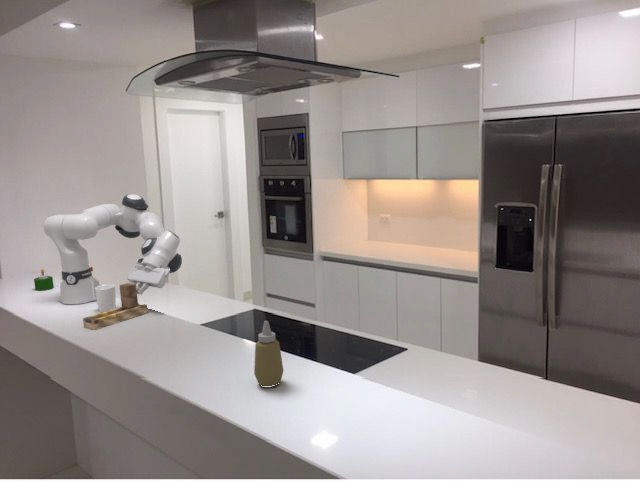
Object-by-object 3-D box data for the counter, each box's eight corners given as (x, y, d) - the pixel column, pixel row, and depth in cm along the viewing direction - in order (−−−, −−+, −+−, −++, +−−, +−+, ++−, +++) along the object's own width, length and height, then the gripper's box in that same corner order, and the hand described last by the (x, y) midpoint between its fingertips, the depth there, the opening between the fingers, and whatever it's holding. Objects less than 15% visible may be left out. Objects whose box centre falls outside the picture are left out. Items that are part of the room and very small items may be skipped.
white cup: (104, 313, 224) (101, 290, 222) (93, 310, 229) (91, 287, 227) (121, 308, 230) (118, 285, 229) (110, 306, 235) (108, 283, 233)
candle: (38, 287, 274) (35, 268, 273) (55, 286, 276) (53, 266, 274) (32, 291, 266) (30, 271, 264) (51, 290, 268) (48, 270, 266)
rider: (131, 307, 223) (129, 282, 221) (138, 309, 220) (136, 283, 219) (122, 310, 219) (119, 285, 218) (129, 312, 217) (126, 286, 215)
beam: (136, 310, 227) (136, 302, 226) (147, 312, 223) (146, 304, 222) (83, 327, 207) (82, 318, 207) (94, 330, 203) (93, 321, 203)
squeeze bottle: (251, 390, 147) (247, 326, 144) (258, 377, 155) (255, 316, 152) (280, 390, 146) (277, 326, 143) (286, 378, 154) (283, 316, 151)
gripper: (176, 271, 225) (159, 300, 218) (144, 266, 236) (127, 294, 230) (167, 263, 220) (149, 292, 214) (134, 258, 232) (117, 286, 225)
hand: (137, 293), depth 222 cm, fingers closed
